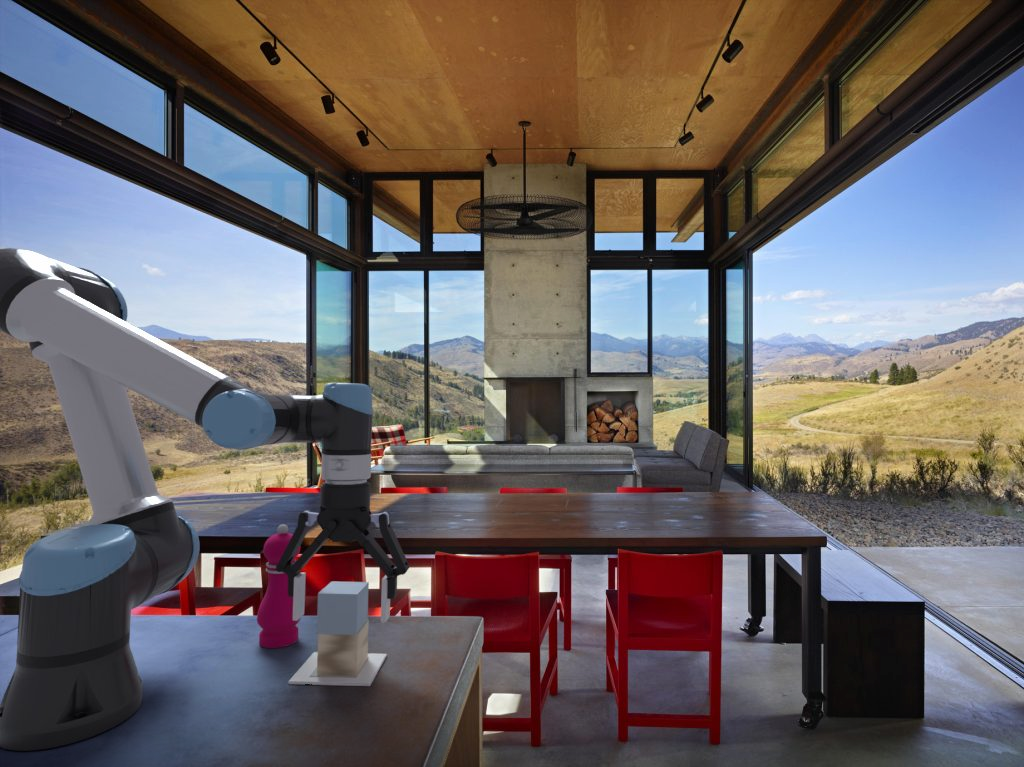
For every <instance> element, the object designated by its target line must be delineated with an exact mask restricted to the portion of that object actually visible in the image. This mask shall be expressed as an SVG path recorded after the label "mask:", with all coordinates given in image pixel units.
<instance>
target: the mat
mask: <svg viewBox="0 0 1024 767" xmlns="http://www.w3.org/2000/svg"><path fill="white" fill-rule="evenodd" d="M317 655H318V651H314V652H312V654H310V656H309V657H308V658H307V659H306V660H305V661H304V663H303V664H302V665H301V667H300V668H298V670H297V671H296V672H295V673H294V675H292V677H291V678H290V679H289V680H288V685H305V684H310V686H311V684H312V685H313V686H317V685H318V686H346V687H347V686H348V687H349V686H350V687H351V686H353V687H371V685H372V683H373V682H374V680H375V678H376V676H377V674H378V673H379V670H380V669H381V668H382V666H383V663H384V662H385V660H386V658H387V657H388V656H387V653H375V652H374V653H371V652H370V653H369V652H368V658H367V660H366V662H365V663H364V665H363V666H362V668H361V670H360V671H359V673H358V675H357V676H346V675H317Z"/></svg>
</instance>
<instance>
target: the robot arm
mask: <svg viewBox="0 0 1024 767" xmlns="http://www.w3.org/2000/svg"><path fill="white" fill-rule="evenodd" d="M127 319H128V305H127V301H126V299H125V297H124V295H123V294H122V292H121V291H120V289H119V288H118V287H117V286H116V285H115V284H114V283H113V282H111V281H110V280H108V279H107V278H105V277H103V276H101V275H99V274H98V273H96V272H95V271H92V270H89V269H86V268H83V267H77V266H74V265H70V264H68V263H65V262H62V261H59V260H57V259H53V258H51V257H49V256H45V255H43V254H41V253H38V252H35V251H32V250H28V249H27V250H26V249H22V248H12V247H7V248H0V331H1V332H3V333H5V334H7V335H9V336H10V337H12V338H14V339H16V340H18V341H21V342H25V343H28V346H29V348H30V351H31V354H32V356H33V357H34V359H38V360H40V361H41V362H43V363H46V364H47V365H48V368H49V370H50V374H51V377H52V380H53V384H54V387H55V391H56V393H57V397H58V400H59V403H60V407H61V410H62V413H63V416H64V419H65V423H66V426H67V431H68V434H69V437H70V439H71V443H72V447H73V450H74V452H75V456H76V460H77V462H78V467H79V469H80V473H81V477H82V479H83V482H84V486H85V490H86V493H87V496H88V499H89V502H90V505H91V510H92V512H93V513H92V514H91V517H90V518H89V520H88V521H87V523H86V525H84V526H83V525H82V526H79V527H78V528H73V529H70V528H68V529H65V530H61V531H57V532H55V533H52V534H49V535H47V536H44V537H42V538H40V539H39V540H37V541H35V542H34V543H32V544H31V545H30V546H29V547H28V548H27V550H26V551H25V553H24V555H23V559H22V560H23V561H22V568H21V571H20V574H19V578H18V584H19V603H18V622H17V624H18V626H17V641H16V643H17V644H16V645H17V646H16V658H15V659H16V661H15V668H14V670H13V673H12V676H11V677H10V681H9V682H8V684H7V687H6V690H5V692H4V693H3V697H2V700H1V701H0V748H2V749H5V750H10V751H20V752H21V751H39V750H46V749H53V748H58V747H61V746H66V745H69V744H74V743H77V742H80V741H83V740H86V739H89V738H92V737H95V736H97V735H99V734H102V733H105V732H106V731H108V730H111V729H113V728H114V727H116V726H118V725H120V724H122V723H123V722H124V721H126V720H128V719H129V718H130V717H131V716H133V714H135V713H136V712H137V711H139V708H140V707H141V706H142V703H143V686H144V685H143V680H142V679H141V677H140V675H139V672H138V668H137V664H136V661H135V658H134V656H133V652H132V649H131V646H130V645H131V644H130V638H131V620H132V619H131V617H132V610H133V609H136V608H137V607H140V606H141V605H143V604H144V603H147V602H148V601H150V600H151V599H154V597H157V596H160V595H162V594H165V593H167V592H169V591H171V590H172V589H173V588H174V587H176V586H177V585H178V584H179V583H181V582H182V581H183V580H184V579H185V578H186V577H188V575H190V573H191V572H192V570H193V569H194V567H195V565H196V564H197V562H198V558H199V556H200V539H199V535H198V532H197V530H196V528H195V527H194V525H193V524H192V523H191V522H190V521H189V520H186V519H185V518H183V516H180V515H178V514H177V512H176V508H175V505H174V502H173V500H172V498H169V497H168V496H165V495H163V494H161V493H160V492H159V491H158V489H157V485H156V481H155V478H154V476H153V473H152V469H151V468H152V467H151V466H150V463H149V459H148V456H147V453H146V449H145V447H144V443H143V440H142V437H141V433H140V430H139V426H138V423H137V421H136V417H135V416H136V415H135V414H134V411H133V406H132V403H131V400H130V397H129V394H128V391H127V389H129V390H130V391H133V392H134V393H136V394H138V395H140V396H141V397H144V398H146V399H148V400H150V401H152V402H154V403H155V404H157V405H159V406H162V407H163V408H165V409H167V410H168V411H171V412H172V413H174V414H176V415H178V416H181V417H182V418H184V419H186V420H188V421H189V422H192V423H193V424H195V425H197V426H199V427H201V428H202V429H203V430H204V432H205V433H206V436H207V437H208V438H209V439H210V441H211V442H213V443H214V444H216V445H217V446H219V447H222V448H225V449H230V450H244V451H245V450H249V449H254V448H258V447H263V446H269V445H276V444H283V443H290V444H291V443H313V444H319V443H321V447H322V448H321V470H320V471H321V478H320V479H321V480H324V481H325V482H322V483H321V484H320V495H319V496H320V499H319V500H320V502H319V507H320V508H319V511H318V512H314V511H312V510H311V509H307V510H304V511H302V512H300V513H299V515H298V520H297V525H296V528H295V530H294V532H293V533H292V534H293V536H292V538H291V539H290V541H289V543H288V545H287V547H286V549H285V551H284V553H283V555H282V557H281V558H280V560H279V562H278V564H277V566H276V570H277V571H278V572H283V573H286V574H287V575H288V596H289V597H293V621H298V620H299V619H300V618H301V619H302V617H303V616H304V615H305V606H306V605H305V603H306V602H305V600H306V576H307V574H306V573H307V572H301V571H302V570H303V568H304V567H305V566H306V565H307V564H308V563H309V561H310V560H311V559H312V558H313V557H314V556H315V555H316V553H317V552H319V550H320V549H321V548H322V546H323V545H324V544H325V543H326V542H327V541H328V540H330V541H331V542H332V543H338V542H345V543H353V542H356V541H357V542H358V544H359V545H360V546H362V547H363V548H364V549H365V550H366V552H367V553H368V555H370V558H372V560H373V561H374V562H375V563H376V564H377V565H378V567H379V568H380V569H381V571H382V572H383V573H384V574H385V575H384V576H383V577H382V578H381V594H380V595H381V599H380V605H381V606H380V623H381V624H382V623H383V624H385V623H387V621H388V619H389V618H390V616H391V615H390V614H391V600H394V598H396V596H397V594H398V593H397V592H398V577H399V576H401V575H403V576H404V575H405V574H406V573H407V571H409V569H410V564H409V562H408V560H407V558H406V555H405V553H404V550H403V549H402V546H401V544H400V542H399V540H398V538H397V535H396V533H395V532H394V529H393V526H392V523H391V513H390V512H389V511H386V510H385V511H383V512H381V513H373V514H372V511H371V507H370V506H371V483H370V482H369V481H367V480H369V479H370V478H371V477H372V475H371V474H372V435H373V434H372V433H373V418H374V417H373V415H374V411H373V391H372V390H373V389H372V388H371V387H370V386H369V385H367V384H366V383H355V382H353V383H351V382H327V383H326V384H325V385H324V387H323V392H322V394H318V395H316V394H315V395H306V394H305V395H304V394H303V395H301V394H300V395H298V394H278V393H267V392H259V391H257V390H255V389H253V388H252V387H250V386H248V385H245V384H243V383H242V382H240V381H237V380H236V379H235V378H234V379H233V378H232V377H230V376H228V375H227V374H225V373H224V372H221V371H220V370H217V369H215V368H214V367H211V366H210V365H208V364H206V363H204V362H202V361H200V360H198V359H197V358H194V357H193V356H191V355H189V354H188V353H186V352H184V351H182V350H180V349H177V348H176V347H174V346H173V345H170V344H168V343H167V342H165V341H163V340H161V339H159V338H157V337H155V336H153V335H151V334H149V333H148V332H145V331H144V330H142V329H140V328H138V327H136V326H134V325H132V324H131V323H129V322H127V321H128V320H127ZM315 523H317V524H318V525H319V526H320V528H321V531H320V533H319V534H318V535H317V536H316V537H315V538H314V540H313V541H312V542H311V543H310V545H309V546H307V548H306V549H305V550H304V551H303V553H302V554H300V556H299V557H298V558H297V559H296V562H295V563H294V564H292V563H291V562H292V560H293V558H294V556H295V554H296V553H297V551H298V549H299V547H300V548H301V545H302V543H303V541H304V539H305V537H306V535H307V534H308V532H309V529H310V527H311V526H313V525H315ZM372 523H374V525H375V527H376V528H378V529H379V532H380V535H381V537H382V538H383V542H384V543H385V546H386V548H387V550H388V551H389V554H390V556H391V558H390V557H389V555H388V554H387V553H386V552H385V550H383V548H382V546H380V544H379V543H378V542H377V541H376V539H375V538H374V535H373V534H372V532H371V531H370V530H369V529H368V528H369V526H370V525H371V524H372ZM301 619H300V620H301Z"/></svg>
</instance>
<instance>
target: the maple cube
mask: <svg viewBox="0 0 1024 767" xmlns="http://www.w3.org/2000/svg"><path fill="white" fill-rule="evenodd" d="M369 621H370V620H369V619H368V620H367V622H366V623H365V624H364V626H363V627H362V628H361V630H360V631H359V632H358V633H357V635H337V634H317V652H318V655H317V675H346V676H357V675H358V673H359V671H360V670H361V668H362V666H363V665H364V663H365V662H366V660H367V658H368V653H369V652H368V651H369V623H370V622H369Z"/></svg>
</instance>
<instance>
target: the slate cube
mask: <svg viewBox="0 0 1024 767" xmlns="http://www.w3.org/2000/svg"><path fill="white" fill-rule="evenodd" d="M369 585H370V584H369V582H368V581H335V580H334V581H330V582H329V583H328V584H326V585H325V587H324V588H322V589H321V590H320V591H319V592H318V593H317V613H316V615H317V616H316V618H317V619H316V635H318V634H337V635H357V633H358V632H359V631H360V630H361V628H362V627H363V626H364V624H365V623H366V622H367V620H369V617H368V616H369Z"/></svg>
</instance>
